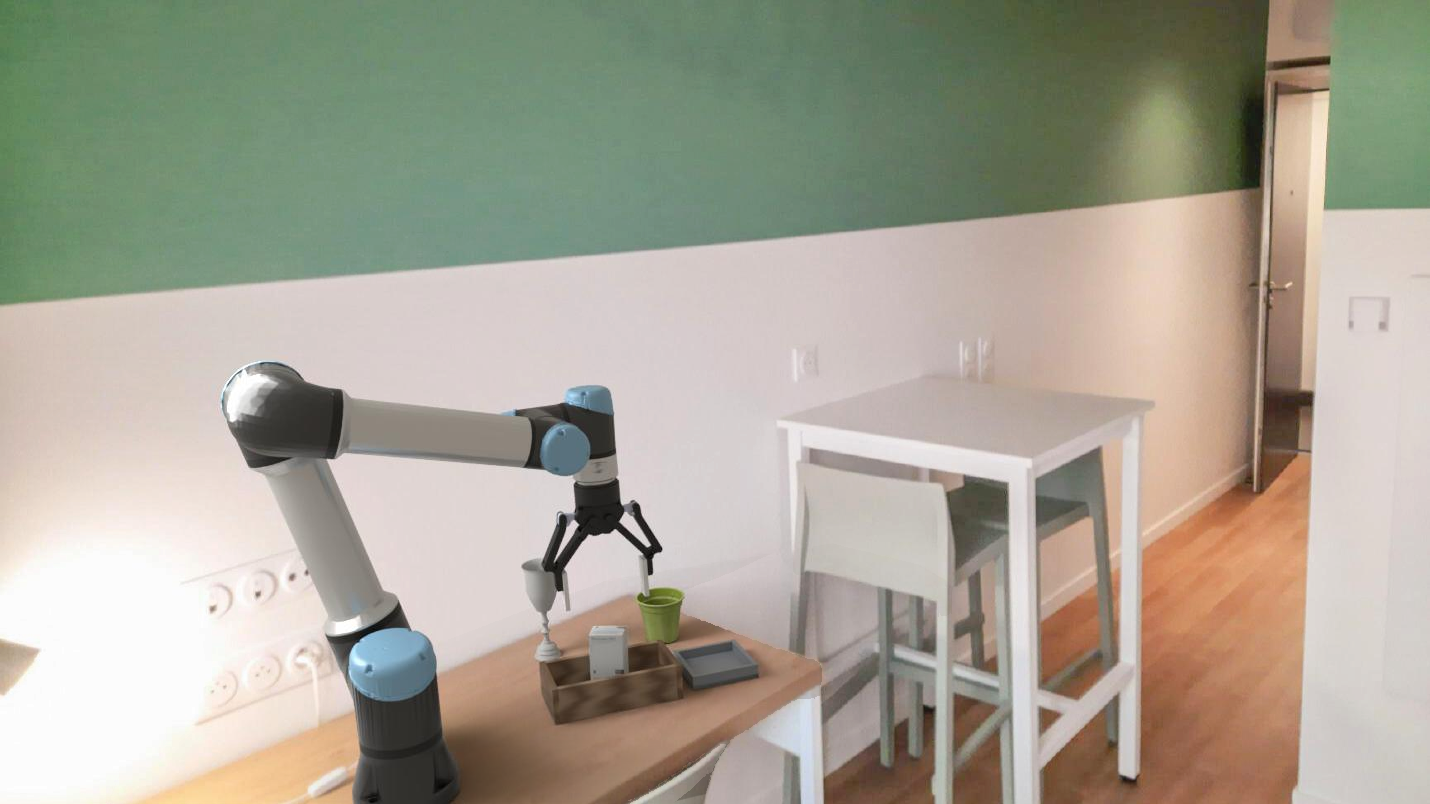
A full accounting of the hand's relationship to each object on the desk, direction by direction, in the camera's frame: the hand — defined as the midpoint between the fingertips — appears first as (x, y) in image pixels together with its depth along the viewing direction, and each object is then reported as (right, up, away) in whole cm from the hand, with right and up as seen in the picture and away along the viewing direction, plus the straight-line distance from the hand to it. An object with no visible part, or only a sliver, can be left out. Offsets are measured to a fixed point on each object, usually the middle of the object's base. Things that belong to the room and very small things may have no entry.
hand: (606, 601), depth 183 cm
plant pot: (+8, -12, +26) cm, 30 cm away
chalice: (-13, -14, +21) cm, 29 cm away
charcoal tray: (+18, -14, +11) cm, 26 cm away
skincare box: (+1, -17, +3) cm, 17 cm away
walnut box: (+1, -17, +3) cm, 17 cm away
